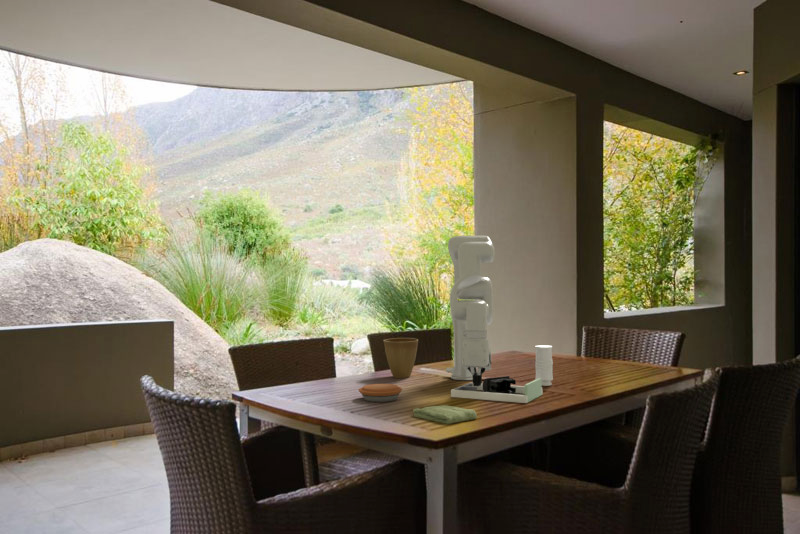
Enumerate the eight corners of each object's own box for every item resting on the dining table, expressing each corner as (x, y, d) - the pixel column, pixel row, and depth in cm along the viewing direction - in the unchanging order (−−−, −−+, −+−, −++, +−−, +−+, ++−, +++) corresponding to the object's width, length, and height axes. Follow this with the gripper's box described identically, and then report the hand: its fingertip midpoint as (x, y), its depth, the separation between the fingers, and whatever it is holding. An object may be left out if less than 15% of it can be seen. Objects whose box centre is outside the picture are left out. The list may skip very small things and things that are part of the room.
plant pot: (382, 374, 296) (382, 338, 296) (416, 373, 298) (415, 337, 298) (385, 380, 281) (385, 341, 281) (420, 378, 283) (420, 340, 283)
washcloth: (441, 411, 218) (441, 401, 218) (479, 420, 204) (479, 409, 204) (409, 417, 210) (409, 406, 210) (447, 426, 196) (447, 415, 196)
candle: (551, 382, 268) (551, 345, 269) (554, 385, 262) (553, 347, 262) (534, 382, 269) (533, 345, 269) (536, 385, 262) (535, 347, 262)
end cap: (504, 393, 247) (504, 375, 247) (516, 396, 241) (516, 377, 241) (482, 396, 242) (482, 377, 242) (494, 399, 236) (494, 379, 236)
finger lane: (451, 396, 241) (450, 380, 241) (470, 389, 257) (470, 373, 257) (526, 403, 227) (526, 385, 227) (542, 394, 243) (542, 377, 243)
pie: (393, 404, 229) (393, 389, 229) (351, 402, 234) (351, 387, 234) (408, 396, 243) (408, 382, 243) (369, 394, 249) (368, 380, 249)
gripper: (453, 335, 246) (454, 385, 246) (492, 336, 239) (492, 388, 239) (461, 333, 253) (462, 382, 253) (499, 335, 246) (500, 385, 245)
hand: (477, 385), depth 246 cm, fingers closed
